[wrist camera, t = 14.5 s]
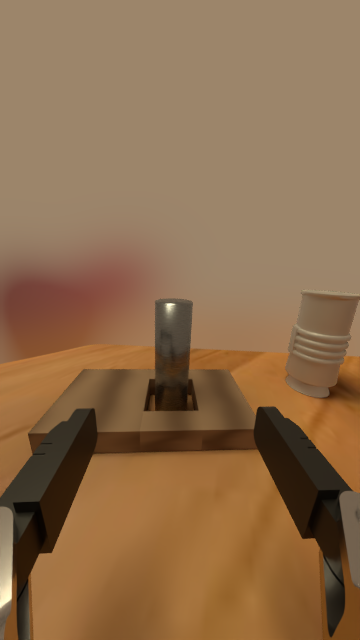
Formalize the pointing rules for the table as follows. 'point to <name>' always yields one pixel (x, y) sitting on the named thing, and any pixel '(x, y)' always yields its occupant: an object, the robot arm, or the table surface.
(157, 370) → the tall pin
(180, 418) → the hole plate
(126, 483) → the table surface
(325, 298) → the white ribbed cylinder
